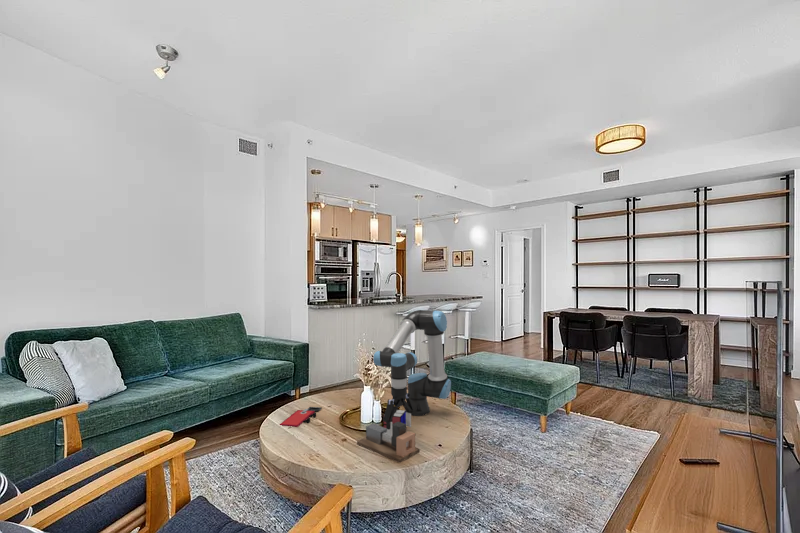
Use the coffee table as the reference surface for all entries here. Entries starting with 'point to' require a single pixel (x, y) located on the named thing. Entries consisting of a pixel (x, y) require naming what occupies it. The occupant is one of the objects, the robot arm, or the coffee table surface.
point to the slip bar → (395, 433)
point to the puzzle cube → (397, 417)
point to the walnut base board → (385, 450)
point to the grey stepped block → (375, 433)
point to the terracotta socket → (401, 444)
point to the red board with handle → (300, 417)
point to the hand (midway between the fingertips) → (399, 430)
